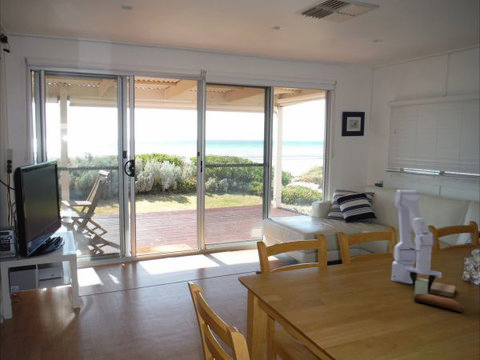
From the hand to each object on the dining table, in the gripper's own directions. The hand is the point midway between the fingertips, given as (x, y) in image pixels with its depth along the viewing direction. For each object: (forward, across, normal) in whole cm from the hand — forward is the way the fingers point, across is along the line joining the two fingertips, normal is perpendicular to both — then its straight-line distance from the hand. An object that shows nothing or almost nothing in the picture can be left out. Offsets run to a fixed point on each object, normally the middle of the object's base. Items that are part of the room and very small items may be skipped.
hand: (421, 290), depth 183 cm
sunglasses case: (+2, +8, -10) cm, 13 cm away
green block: (+1, 0, 0) cm, 1 cm away
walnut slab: (+1, +7, +8) cm, 11 cm away
